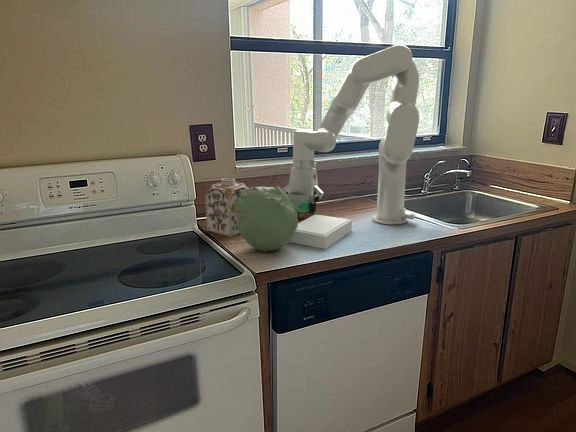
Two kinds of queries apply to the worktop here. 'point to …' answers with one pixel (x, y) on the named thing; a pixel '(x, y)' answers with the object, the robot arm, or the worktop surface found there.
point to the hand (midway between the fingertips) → (302, 211)
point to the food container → (301, 205)
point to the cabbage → (265, 217)
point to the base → (321, 231)
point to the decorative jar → (223, 206)
